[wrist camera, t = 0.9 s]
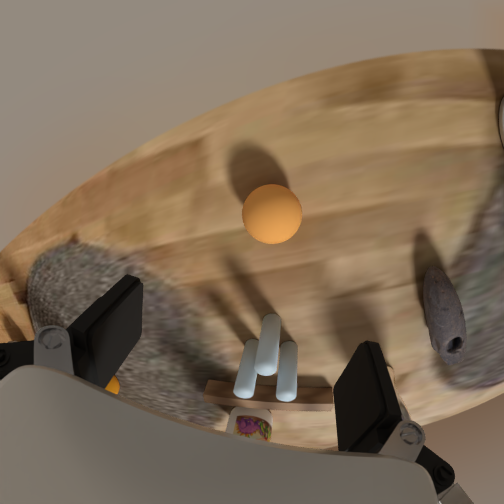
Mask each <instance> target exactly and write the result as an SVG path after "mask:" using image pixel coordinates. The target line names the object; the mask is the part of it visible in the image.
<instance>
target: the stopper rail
mask: <svg viewBox="0 0 504 504" xmlns="http://www.w3.org/2000/svg"><path fill="white" fill-rule="evenodd" d="M234 386H235V383H234V382H225V381H217V380H208V382H207V385H206V388H205V391H204V393H203V397H204V401H205V402H207V403H213V404H220V405H228V406H236V407H246V408H256V409H269V410H286V411H331V410H332V407H333V404H334V403H333V392H332V388H318V387H297V394H296V398H295V399H294V400H292V401H288V402H285V401H281V400H279V399H277V397H276V389H277V386H267V385H255V389H254V394H253V396H252V397H250V398H246V399H245V398H240V397H238V396H236V395H235V394H234V392H233V390H234Z"/></svg>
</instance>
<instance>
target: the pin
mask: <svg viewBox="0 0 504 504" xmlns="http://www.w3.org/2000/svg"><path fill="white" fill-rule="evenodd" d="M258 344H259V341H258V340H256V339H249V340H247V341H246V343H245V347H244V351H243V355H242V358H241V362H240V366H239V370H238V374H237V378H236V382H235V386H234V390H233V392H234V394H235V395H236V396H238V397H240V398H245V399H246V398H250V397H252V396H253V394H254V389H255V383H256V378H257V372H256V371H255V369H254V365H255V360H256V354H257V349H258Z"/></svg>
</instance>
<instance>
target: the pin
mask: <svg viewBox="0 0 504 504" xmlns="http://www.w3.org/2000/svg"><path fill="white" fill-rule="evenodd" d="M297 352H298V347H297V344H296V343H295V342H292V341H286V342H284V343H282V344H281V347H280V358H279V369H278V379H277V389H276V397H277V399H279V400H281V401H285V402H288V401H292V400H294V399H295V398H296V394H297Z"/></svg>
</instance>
